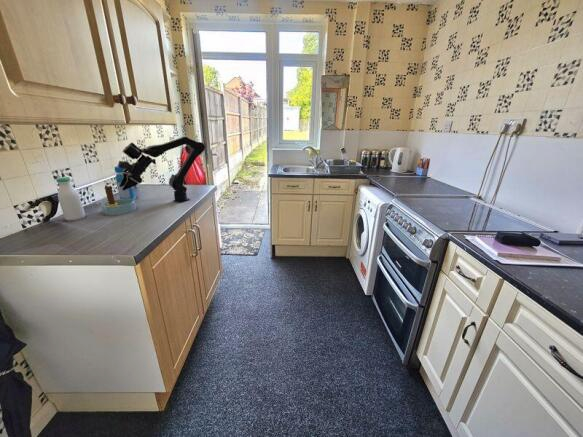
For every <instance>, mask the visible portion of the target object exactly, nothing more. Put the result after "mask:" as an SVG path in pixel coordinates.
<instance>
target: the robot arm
mask: <svg viewBox="0 0 583 437" xmlns="http://www.w3.org/2000/svg"><path fill="white" fill-rule="evenodd" d="M183 145H186V146H187V147H190V148H189V153H188V155H187V156H186V158H185V160H184V161H183V163H182V164H181V167H180V168H179V170H178V171H177V173H175V174H174V173H172V174H171V176H170V178H169V179H168V180H169V181H168V185H169V187H170V188H172V189H173V193H174V194H173V197H174V199H173V202H177V203H184V202H187V201H189V200H190V198H188V194H187V190H188V188H187V187H186V186H185V185H184V183H185V177H186V176H187V174H188V172H189V171H190V169H191V168H192V166H193V164H194V163H195V161H196V159H197V158H198V157H199V156H200V155H201V154H203V153H204V152H205V150H206V146H205V144H204V143H203V142H201V141H196V140H194V139H192V138H190V137H188V136H181V137H179V138H175V139H173V140H170V141H167V142H164V143H159V144H152V145H148V146H147V147H146V148H140V147H138V146H137V145H136V144H135V143H134V142H130V143H129V144H128V145H127V146H125V147H124V148H123V150H122V153H123V154H124V155H126V156H128V157H129V158H130V159H132V160H136V161H135V162H133V163H130V162H129V161H126V160H124V161H122V160H119V161H118V163H117V166H118V167H119V168H124V170H123V172H124V173H123V172H122V173H123V179H122V181H121V183H120V185H119V186H120V187H123V186H124V187H123V188H122V190H126V189H129V188H131V187H133V186H134V187H135V186H137V185H139V184H141V183H142V182H143V178H142V177H141V176H142V175H143V173H146V172H147V169H148V168H149V167H150V166H151V164H153V165H156V164H157V162H156V158H158V157H160V156H161V155H163V154H164V153H166V152H168V151H170V150H173V149H175V148H178V147H181V146H183Z"/></svg>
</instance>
